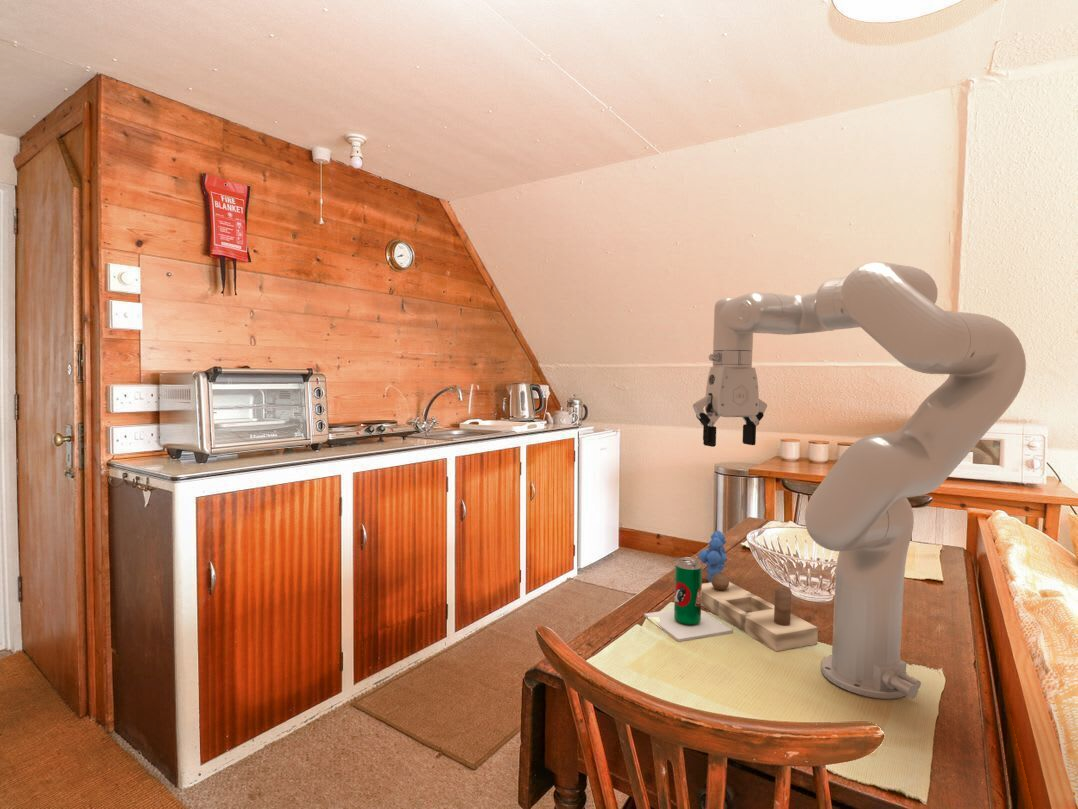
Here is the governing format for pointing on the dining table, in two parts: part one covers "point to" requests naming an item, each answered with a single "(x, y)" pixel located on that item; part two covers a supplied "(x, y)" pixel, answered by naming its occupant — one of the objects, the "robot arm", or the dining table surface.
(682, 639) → the mat
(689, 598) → the soda can
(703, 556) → the grapes
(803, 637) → the wooden holder block
